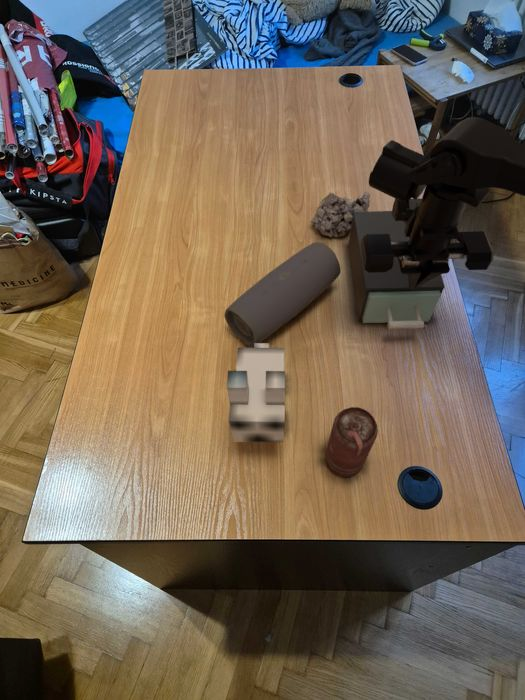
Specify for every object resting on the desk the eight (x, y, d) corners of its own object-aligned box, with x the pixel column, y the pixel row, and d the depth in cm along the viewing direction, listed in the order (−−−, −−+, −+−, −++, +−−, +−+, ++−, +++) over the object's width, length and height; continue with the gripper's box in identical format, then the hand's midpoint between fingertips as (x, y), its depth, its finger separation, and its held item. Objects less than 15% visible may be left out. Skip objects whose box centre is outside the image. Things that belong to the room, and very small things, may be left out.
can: (333, 484, 73) (344, 453, 61) (319, 447, 76) (327, 410, 65) (369, 474, 74) (387, 441, 62) (354, 437, 77) (368, 399, 65)
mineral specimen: (373, 196, 103) (358, 174, 95) (377, 235, 101) (362, 216, 93) (322, 212, 109) (303, 193, 101) (325, 249, 107) (306, 233, 99)
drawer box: (429, 319, 90) (444, 286, 81) (358, 320, 90) (366, 288, 82) (411, 245, 100) (423, 209, 92) (347, 246, 100) (353, 211, 92)
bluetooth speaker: (305, 266, 98) (308, 230, 89) (339, 290, 94) (345, 255, 85) (224, 330, 90) (219, 297, 81) (258, 359, 86) (256, 328, 77)
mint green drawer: (434, 342, 86) (447, 317, 79) (366, 344, 86) (373, 318, 79) (411, 250, 98) (421, 221, 91) (352, 251, 98) (357, 223, 92)
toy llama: (283, 365, 85) (284, 296, 68) (283, 459, 76) (284, 405, 59) (242, 365, 85) (233, 296, 68) (237, 458, 76) (225, 405, 59)
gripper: (491, 174, 69) (456, 250, 82) (364, 178, 69) (350, 253, 82) (513, 227, 63) (472, 300, 76) (374, 231, 63) (357, 303, 76)
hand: (411, 287), depth 78 cm, fingers closed
